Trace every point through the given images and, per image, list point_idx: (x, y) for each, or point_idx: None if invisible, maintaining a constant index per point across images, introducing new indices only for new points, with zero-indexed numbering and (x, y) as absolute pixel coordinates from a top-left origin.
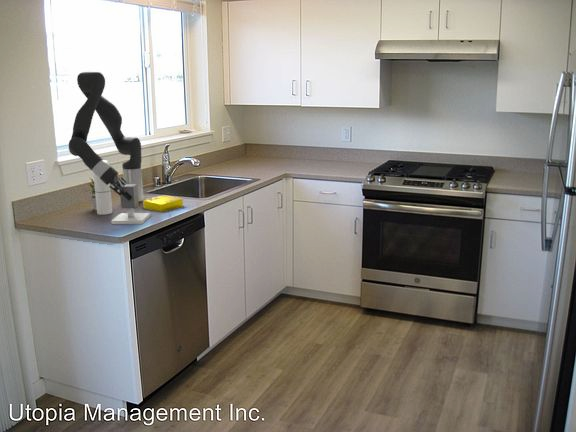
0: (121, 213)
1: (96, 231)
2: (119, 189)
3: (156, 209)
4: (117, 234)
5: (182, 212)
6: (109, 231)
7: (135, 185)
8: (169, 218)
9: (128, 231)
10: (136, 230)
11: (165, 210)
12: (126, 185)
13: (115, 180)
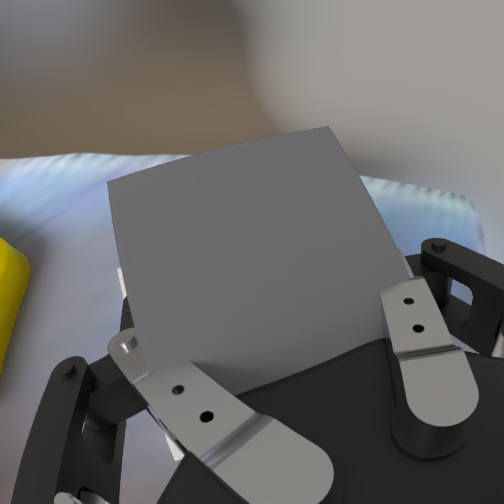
0: (180, 451)
1: (475, 352)
2: (480, 264)
3: (16, 301)
4: (464, 234)
5: (46, 166)
6: (456, 296)
7: (210, 154)
8: (154, 157)
9: (420, 215)
10: (394, 191)
11: (20, 252)
12: (294, 283)
13: (498, 443)
